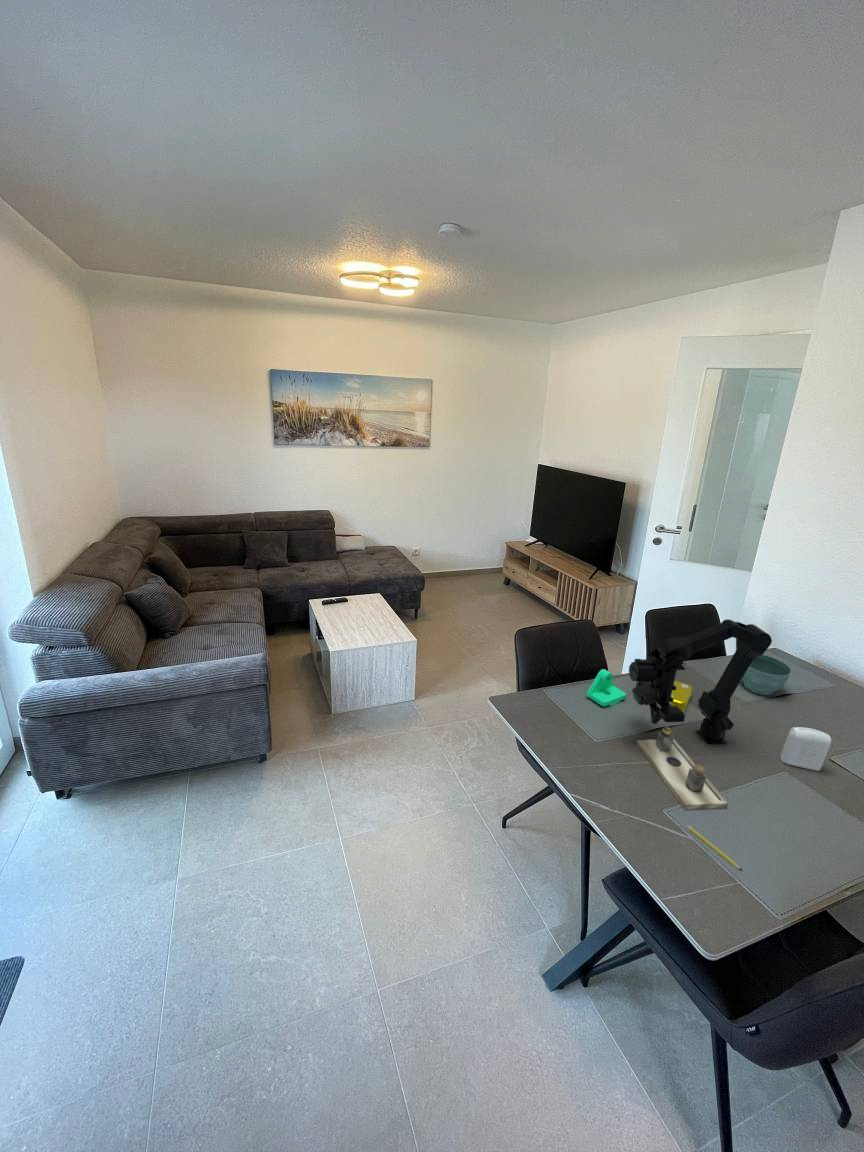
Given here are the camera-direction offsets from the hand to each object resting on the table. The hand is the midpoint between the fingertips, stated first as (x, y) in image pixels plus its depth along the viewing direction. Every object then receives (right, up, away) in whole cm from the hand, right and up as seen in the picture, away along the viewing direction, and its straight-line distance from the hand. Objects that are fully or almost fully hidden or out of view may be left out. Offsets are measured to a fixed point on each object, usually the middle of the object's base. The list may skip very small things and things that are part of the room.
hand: (653, 723), depth 157 cm
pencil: (-2, -20, -37) cm, 42 cm away
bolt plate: (+1, -11, -13) cm, 17 cm away
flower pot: (+54, +3, +32) cm, 63 cm away
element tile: (+15, +2, +25) cm, 29 cm away
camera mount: (-8, +2, +21) cm, 23 cm away
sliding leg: (0, -6, -5) cm, 8 cm away
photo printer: (+41, -10, -7) cm, 43 cm away
